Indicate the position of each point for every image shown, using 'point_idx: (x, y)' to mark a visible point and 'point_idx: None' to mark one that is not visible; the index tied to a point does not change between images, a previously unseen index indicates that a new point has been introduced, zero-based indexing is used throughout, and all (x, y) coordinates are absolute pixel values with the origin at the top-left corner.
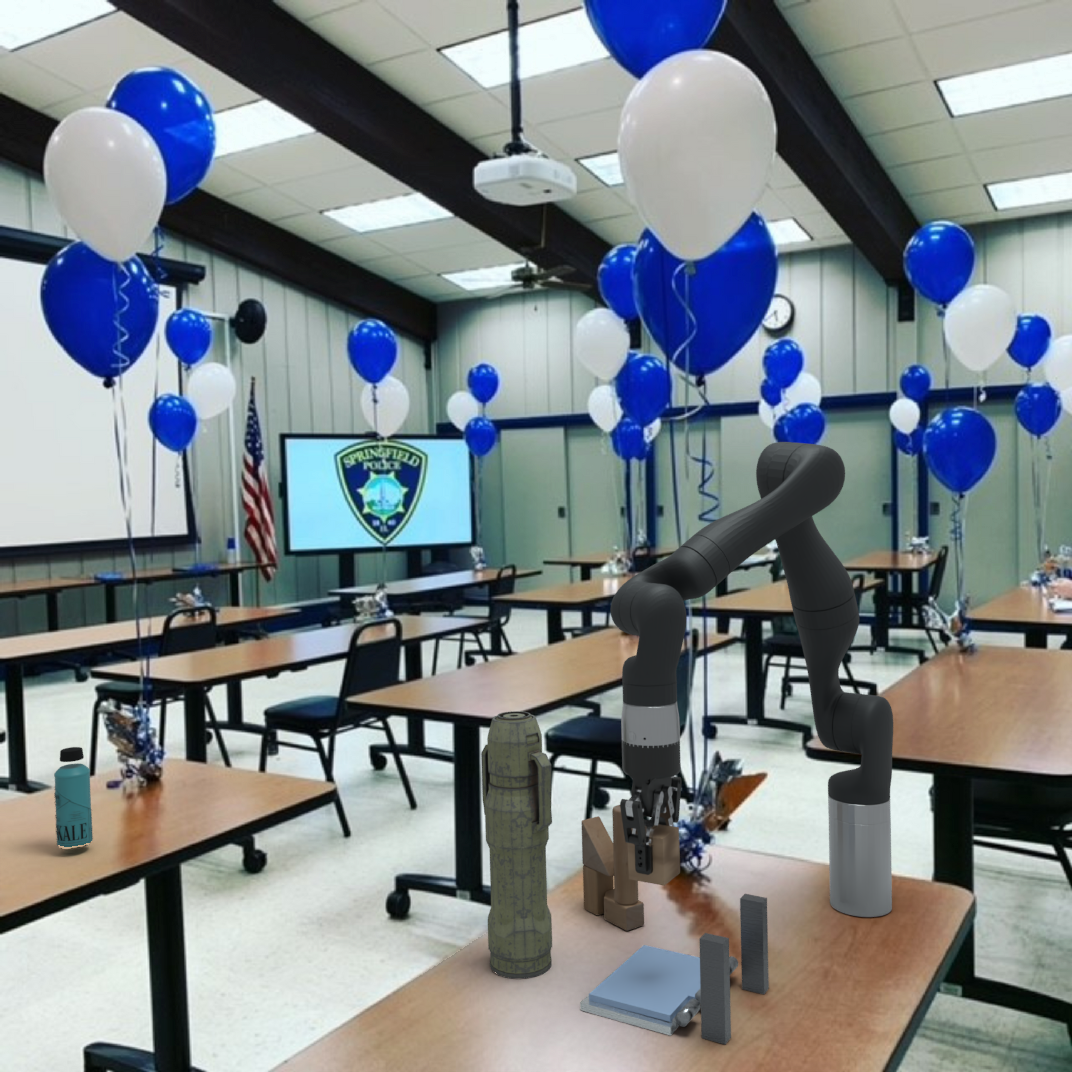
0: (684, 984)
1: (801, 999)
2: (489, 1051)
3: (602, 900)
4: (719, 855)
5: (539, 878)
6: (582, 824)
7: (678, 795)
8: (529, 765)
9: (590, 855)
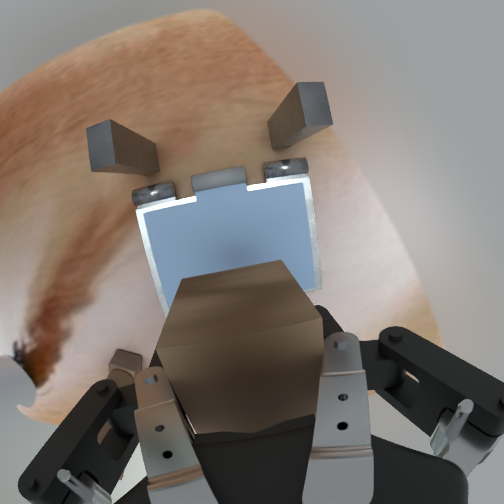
0: (225, 212)
1: (139, 108)
2: (408, 293)
3: None
4: None
5: None
6: (122, 476)
7: (60, 448)
8: None
9: None
